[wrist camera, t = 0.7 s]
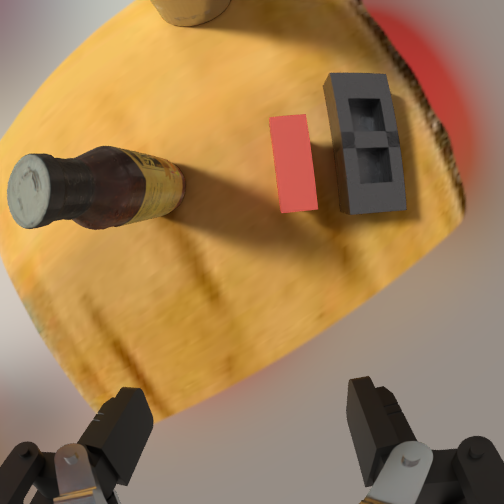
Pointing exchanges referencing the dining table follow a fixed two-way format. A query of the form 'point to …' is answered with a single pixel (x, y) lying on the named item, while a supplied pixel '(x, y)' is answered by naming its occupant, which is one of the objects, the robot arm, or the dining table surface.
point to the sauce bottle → (93, 188)
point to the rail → (365, 143)
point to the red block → (293, 163)
